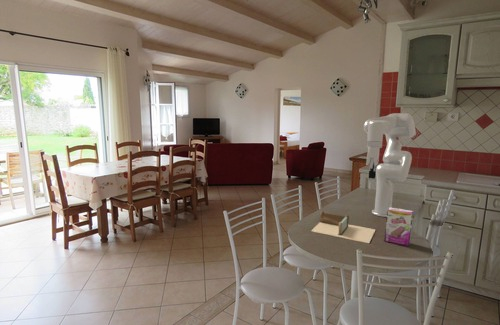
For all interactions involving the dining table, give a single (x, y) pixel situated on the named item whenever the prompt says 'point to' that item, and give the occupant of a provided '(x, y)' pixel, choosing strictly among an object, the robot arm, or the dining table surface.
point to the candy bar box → (398, 226)
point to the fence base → (332, 218)
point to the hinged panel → (342, 225)
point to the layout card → (346, 232)
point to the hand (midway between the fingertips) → (371, 178)
